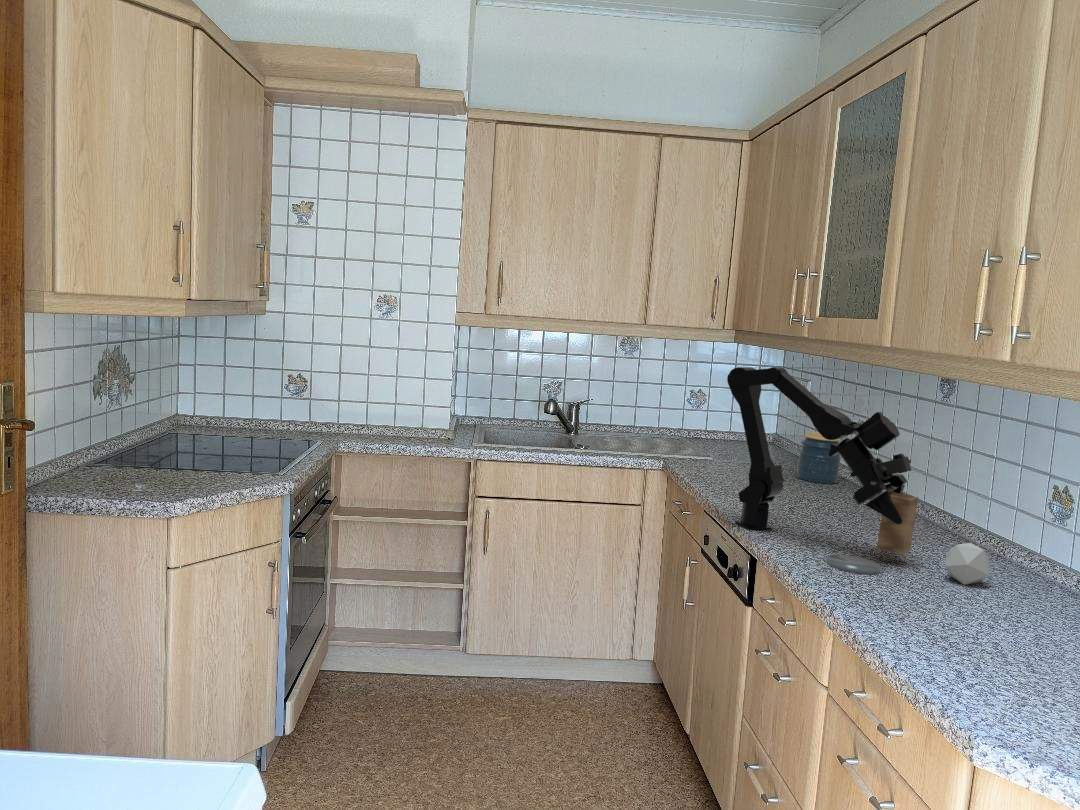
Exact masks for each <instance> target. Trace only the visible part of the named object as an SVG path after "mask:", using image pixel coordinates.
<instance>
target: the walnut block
mask: <svg viewBox="0 0 1080 810" xmlns="http://www.w3.org/2000/svg"><path fill="white" fill-rule="evenodd" d="M890 499H891V501H892V503H893V505H894V507H895V508H896V510H897V512H898V514H899V516H900V518H901V520H902V523H900V524H896V523H895V522H893V521H891V520H890V519H888V518H887V517H885V516H883V515H882V514H881V516H880V517H881V518H880V523H879V531H878V536H877V537H878V538H877V543H876V549H879V550H882V551H886V552H890V553H894V554H898V555H901V556H902V555H904V554H907V553H908V552H910V551H911V550H912V542H913V535H914V530H915V529H914V528H915V523H916V517H917V512H918V510H917V509H918V504H919V503H918V502H919V497H918V496H913V495H909V494H905V493H904V494H903V493H902V494H900V493H895V492H891V497H890Z"/></svg>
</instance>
